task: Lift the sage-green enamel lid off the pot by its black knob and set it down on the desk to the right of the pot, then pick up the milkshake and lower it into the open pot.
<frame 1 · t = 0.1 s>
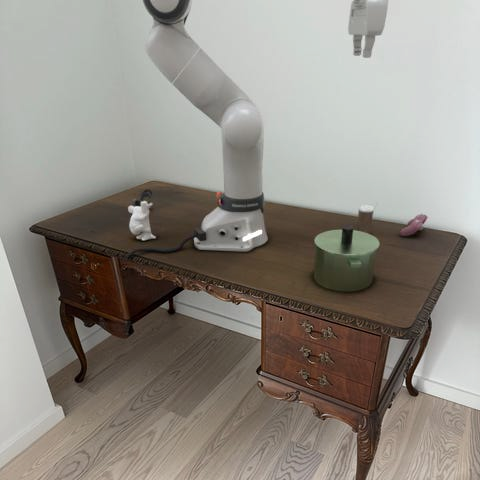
hand: (361, 56, 117), 48 cm above the table, tool pointing down, fingers open, 8 cm apart
lid: (346, 243, 114), point 9 cm above the table, touching pot
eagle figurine: (144, 209, 169), on the table
pot: (342, 278, 119), on the table
video game controller: (412, 233, 143), on the table
milkshake: (364, 235, 143), on the table
koala figurine: (144, 239, 146), on the table
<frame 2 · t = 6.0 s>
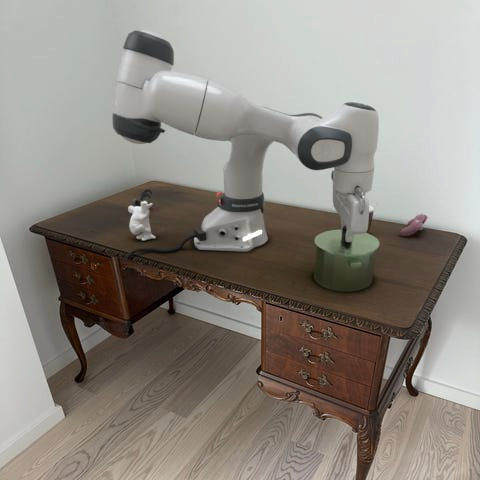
hand: (346, 237, 113), 11 cm above the table, tool pointing down, fingers closed on lid, 2 cm apart
lid: (346, 243, 114), point 9 cm above the table, touching gripper, pot
everything else where it was.
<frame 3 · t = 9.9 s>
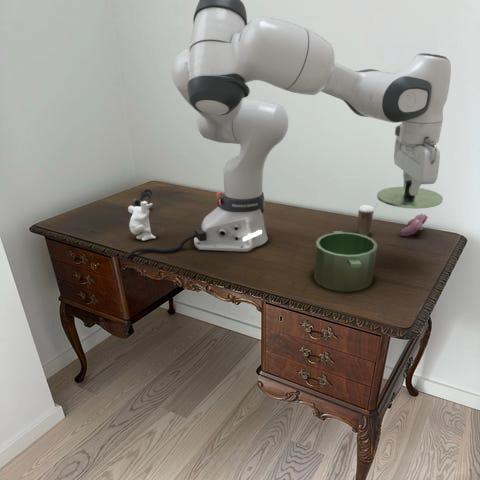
hand: (409, 192, 116), 19 cm above the table, tool pointing down, fingers closed on lid, 2 cm apart
lid: (409, 198, 117), point 18 cm above the table, touching gripper
everything else where it was.
when the fingers open (2 cm above the table, at t = 13.8 s): lid stays where it is, point 1 cm above the table.
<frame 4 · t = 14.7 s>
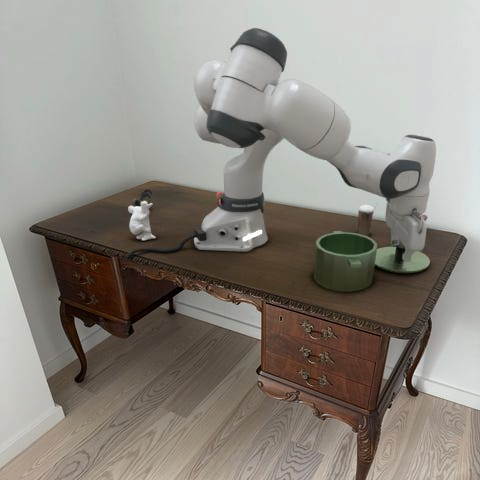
hand: (400, 253, 125), 3 cm above the table, tool pointing down, fingers open, 8 cm apart
lid: (398, 260, 126), point 1 cm above the table
everything else where it was.
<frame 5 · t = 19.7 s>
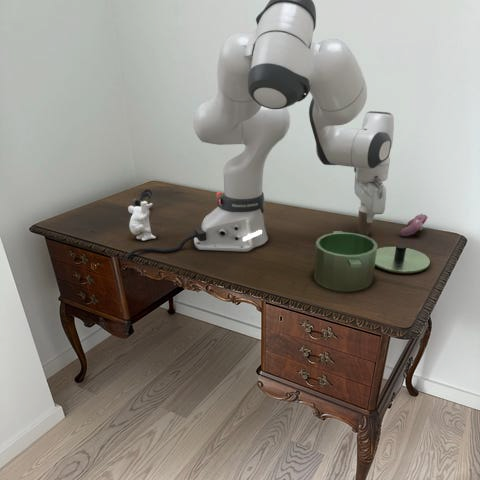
hand: (366, 218, 140), 5 cm above the table, tool pointing down, fingers closed on milkshake, 4 cm apart
milkshake: (364, 235, 143), on the table, touching gripper
everything else where it was.
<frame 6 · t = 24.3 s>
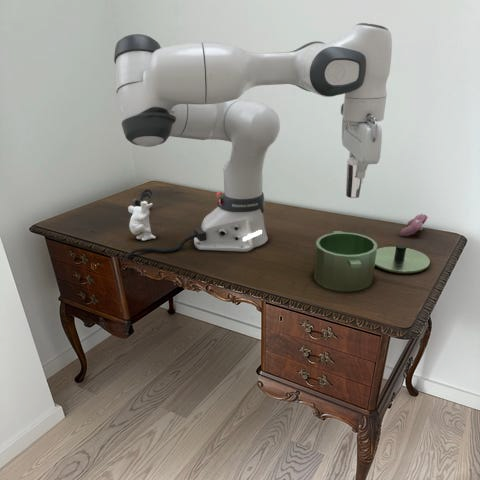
hand: (356, 174, 109), 25 cm above the table, tool pointing down, fingers closed on milkshake, 4 cm apart
milkshake: (354, 196, 112), point 20 cm above the table, touching gripper
everything else where it was.
when the fingers open (6 cm above the table, at t = 30.0 s): milkshake stays where it is, resting on pot.
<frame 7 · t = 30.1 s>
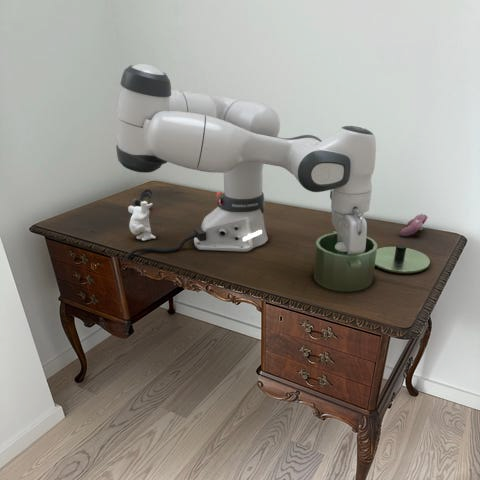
hand: (345, 255, 116), 6 cm above the table, tool pointing down, fingers open, 8 cm apart
milkshake: (342, 277, 119), resting on pot
everything else where it was.
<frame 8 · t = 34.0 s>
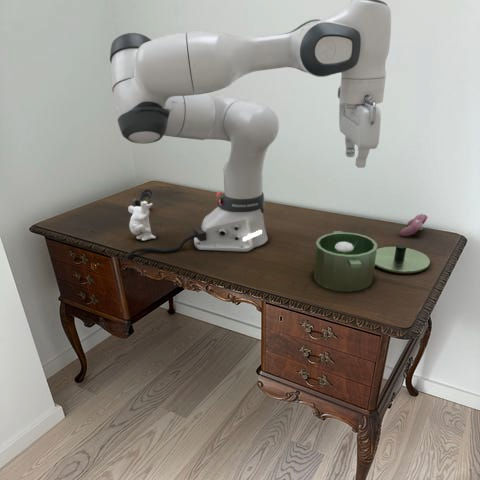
hand: (354, 161, 104), 29 cm above the table, tool pointing down, fingers open, 8 cm apart
nothing on the table moved.
at the end: lid inside the target area (0.2 cm from its centre), point 0.6 cm above the table; lid tilted 0°; milkshake inside the target area in the pot (0.1 cm from its centre), point 0.3 cm above the pot's base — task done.
